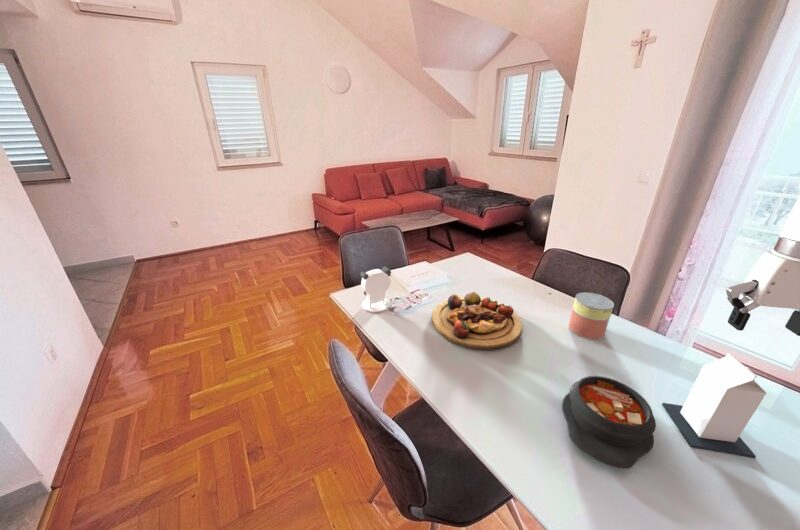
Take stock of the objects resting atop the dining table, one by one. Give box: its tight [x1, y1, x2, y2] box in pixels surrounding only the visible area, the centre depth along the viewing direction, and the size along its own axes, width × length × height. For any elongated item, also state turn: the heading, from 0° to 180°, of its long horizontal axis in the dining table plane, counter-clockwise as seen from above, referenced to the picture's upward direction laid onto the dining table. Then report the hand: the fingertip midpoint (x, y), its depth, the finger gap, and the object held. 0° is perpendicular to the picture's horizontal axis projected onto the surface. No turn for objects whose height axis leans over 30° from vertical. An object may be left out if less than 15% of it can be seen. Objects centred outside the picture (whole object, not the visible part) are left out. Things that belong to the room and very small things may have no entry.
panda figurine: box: [359, 266, 392, 313], centre depth 123 cm, size 12×11×15 cm
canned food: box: [567, 291, 615, 341], centre depth 107 cm, size 11×11×12 cm
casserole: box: [561, 375, 657, 470], centre depth 73 cm, size 25×19×8 cm
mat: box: [662, 402, 757, 459], centre depth 74 cm, size 12×12×1 cm
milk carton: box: [680, 352, 767, 442], centre depth 70 cm, size 7×7×19 cm
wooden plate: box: [431, 291, 523, 350], centre depth 112 cm, size 32×32×8 cm
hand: (763, 329), depth 63 cm, fingers open, 9 cm apart
